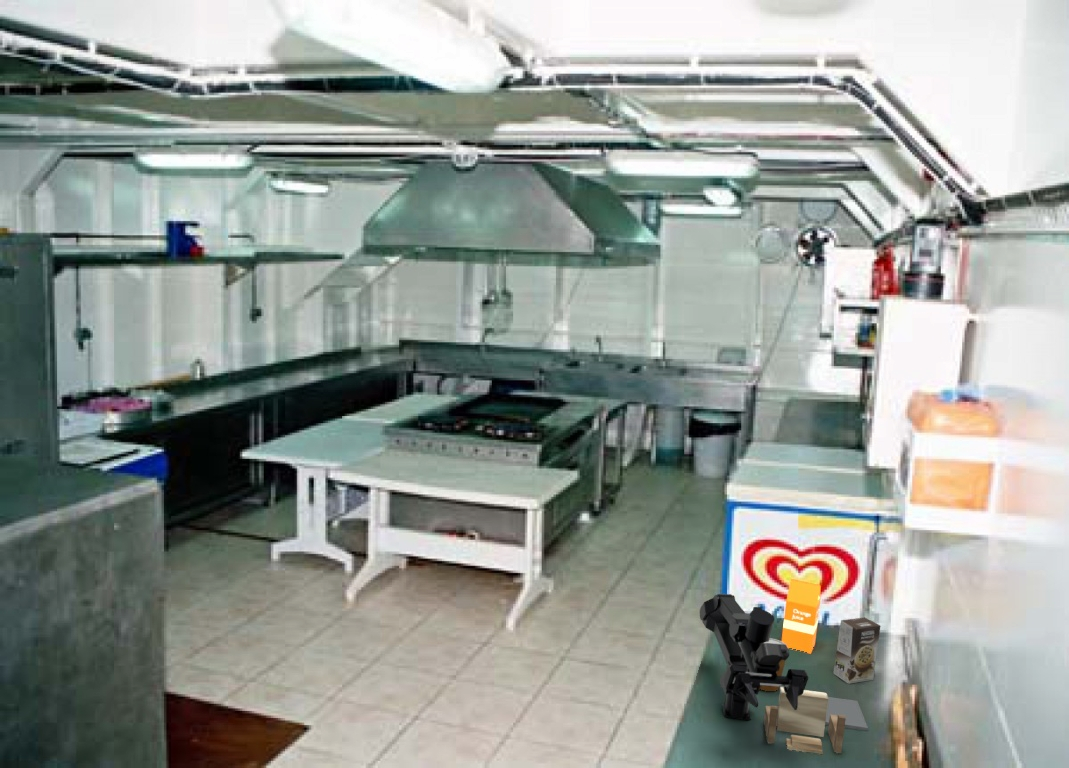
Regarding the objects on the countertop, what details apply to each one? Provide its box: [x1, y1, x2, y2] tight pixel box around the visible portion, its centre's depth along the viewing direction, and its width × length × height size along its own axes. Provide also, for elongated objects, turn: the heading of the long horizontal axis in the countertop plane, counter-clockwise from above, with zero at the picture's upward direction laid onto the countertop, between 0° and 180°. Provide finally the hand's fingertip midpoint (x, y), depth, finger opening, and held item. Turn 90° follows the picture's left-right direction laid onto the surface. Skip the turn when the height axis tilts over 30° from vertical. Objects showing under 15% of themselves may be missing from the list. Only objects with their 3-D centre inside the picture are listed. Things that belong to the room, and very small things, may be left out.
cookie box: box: [833, 617, 881, 685], centre depth 257 cm, size 9×6×16 cm
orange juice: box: [781, 578, 821, 655], centre depth 275 cm, size 8×9×20 cm
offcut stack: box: [785, 734, 824, 755], centre depth 219 cm, size 4×8×2 cm, turn 81°
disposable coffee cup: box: [759, 637, 787, 692], centre depth 248 cm, size 10×10×12 cm
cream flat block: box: [776, 686, 829, 738], centre depth 227 cm, size 3×11×10 cm, turn 81°
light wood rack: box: [763, 705, 846, 754], centre depth 223 cm, size 10×17×9 cm, turn 81°
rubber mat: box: [825, 696, 869, 732], centre depth 237 cm, size 14×16×1 cm
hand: (776, 707), depth 207 cm, fingers open, 9 cm apart
